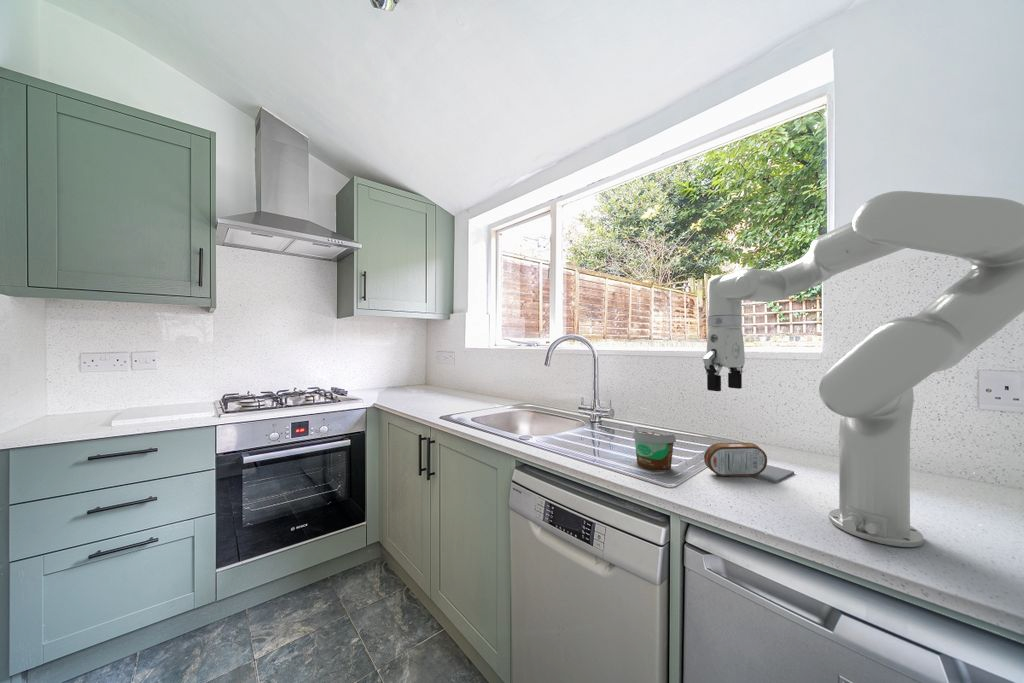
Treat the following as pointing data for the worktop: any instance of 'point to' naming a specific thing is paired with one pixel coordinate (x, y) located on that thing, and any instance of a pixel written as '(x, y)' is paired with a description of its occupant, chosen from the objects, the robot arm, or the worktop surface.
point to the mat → (773, 474)
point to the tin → (735, 459)
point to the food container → (653, 450)
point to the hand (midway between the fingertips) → (724, 389)
